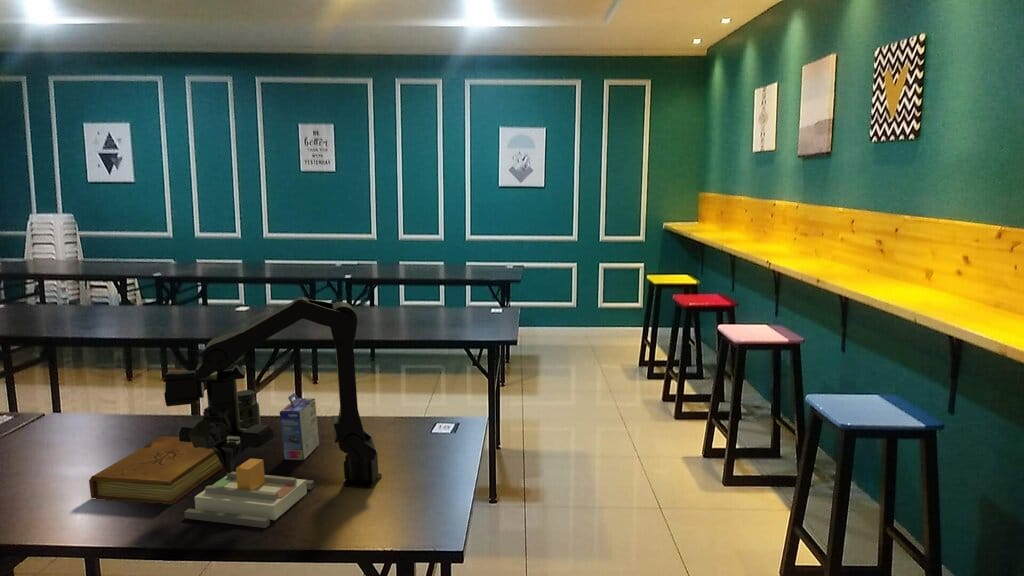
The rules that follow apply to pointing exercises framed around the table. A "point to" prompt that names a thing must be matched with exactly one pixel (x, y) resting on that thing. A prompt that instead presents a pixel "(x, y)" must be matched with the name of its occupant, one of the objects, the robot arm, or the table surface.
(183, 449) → the diary
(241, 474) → the handle
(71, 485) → the table surface
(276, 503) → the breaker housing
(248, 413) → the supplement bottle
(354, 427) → the robot arm
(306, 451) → the ink cartridge box
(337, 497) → the table surface
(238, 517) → the grey base plate
